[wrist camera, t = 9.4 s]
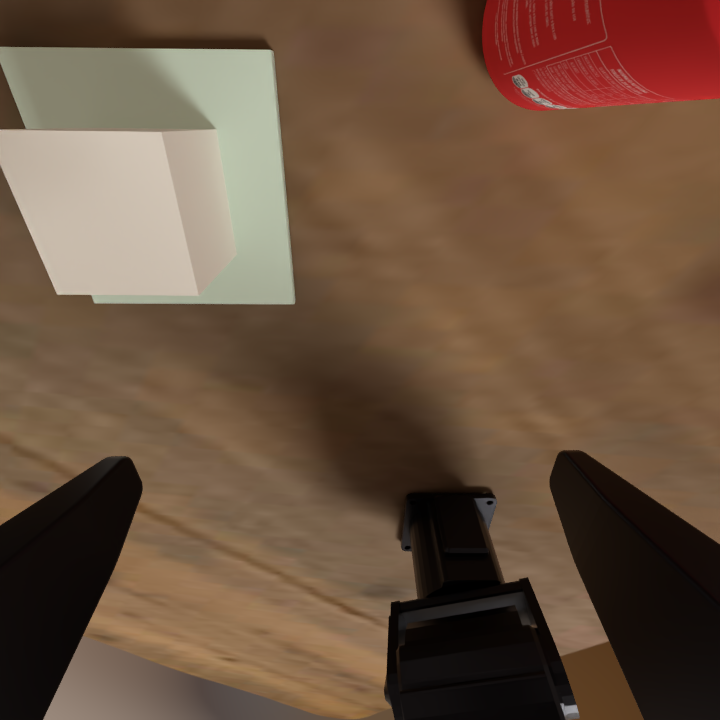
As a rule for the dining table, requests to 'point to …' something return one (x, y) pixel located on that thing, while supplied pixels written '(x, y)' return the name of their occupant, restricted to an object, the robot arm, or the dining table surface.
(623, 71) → the beverage can
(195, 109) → the pad
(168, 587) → the dining table surface
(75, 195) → the cube
